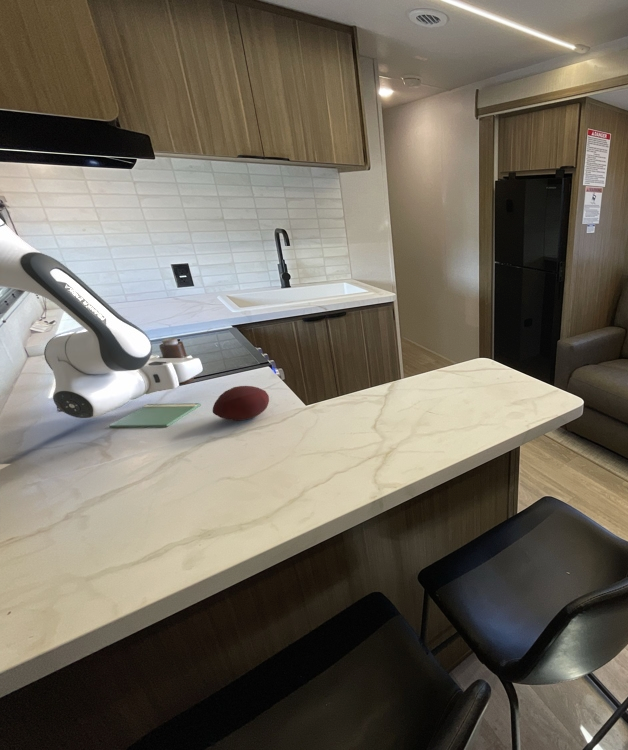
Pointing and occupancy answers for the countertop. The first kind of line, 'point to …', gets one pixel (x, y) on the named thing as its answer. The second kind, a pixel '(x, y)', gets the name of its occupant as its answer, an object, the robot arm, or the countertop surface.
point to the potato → (241, 403)
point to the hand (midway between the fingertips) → (178, 358)
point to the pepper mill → (173, 352)
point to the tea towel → (156, 415)
